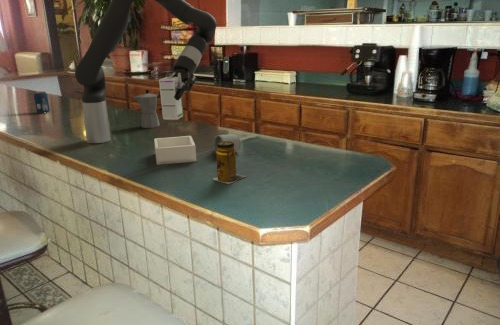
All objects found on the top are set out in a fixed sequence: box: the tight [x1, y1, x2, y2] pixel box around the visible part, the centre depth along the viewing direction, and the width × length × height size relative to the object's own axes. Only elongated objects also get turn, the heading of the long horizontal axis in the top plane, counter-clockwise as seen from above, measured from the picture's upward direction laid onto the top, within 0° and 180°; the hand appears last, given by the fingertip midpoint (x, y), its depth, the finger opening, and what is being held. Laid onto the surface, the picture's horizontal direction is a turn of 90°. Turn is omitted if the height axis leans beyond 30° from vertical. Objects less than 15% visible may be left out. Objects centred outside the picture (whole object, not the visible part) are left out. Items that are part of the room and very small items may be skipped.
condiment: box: [212, 141, 247, 185], centre depth 125 cm, size 7×8×12 cm
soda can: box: [33, 91, 51, 114], centre depth 229 cm, size 7×7×12 cm
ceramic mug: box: [213, 133, 242, 154], centre depth 152 cm, size 11×8×8 cm
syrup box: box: [158, 77, 184, 121], centre depth 141 cm, size 6×6×14 cm
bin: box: [154, 135, 197, 166], centre depth 147 cm, size 14×14×6 cm
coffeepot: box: [133, 89, 162, 129], centre depth 194 cm, size 15×9×18 cm, turn 113°
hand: (168, 98), depth 140 cm, fingers closed on syrup box, 7 cm apart
